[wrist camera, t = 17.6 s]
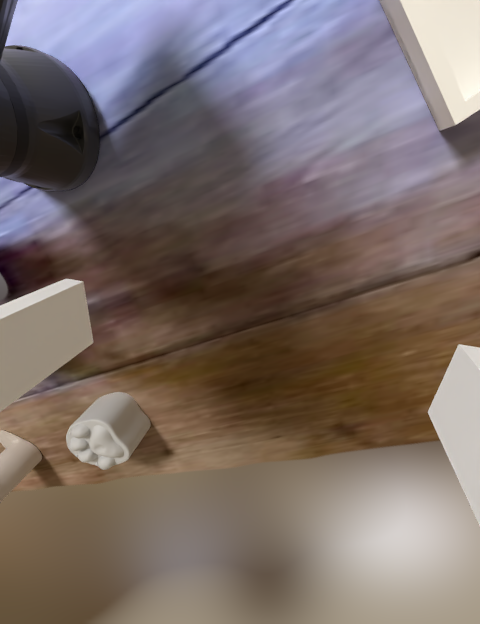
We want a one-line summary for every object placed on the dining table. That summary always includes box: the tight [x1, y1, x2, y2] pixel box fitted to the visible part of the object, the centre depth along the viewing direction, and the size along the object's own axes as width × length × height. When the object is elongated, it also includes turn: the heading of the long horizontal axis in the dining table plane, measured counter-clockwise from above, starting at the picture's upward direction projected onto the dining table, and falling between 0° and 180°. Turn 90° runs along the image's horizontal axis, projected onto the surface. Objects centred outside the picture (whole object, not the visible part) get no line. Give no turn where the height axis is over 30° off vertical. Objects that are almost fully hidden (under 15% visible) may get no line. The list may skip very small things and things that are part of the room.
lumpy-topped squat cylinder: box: [66, 392, 151, 470], centre depth 55 cm, size 10×13×9 cm
